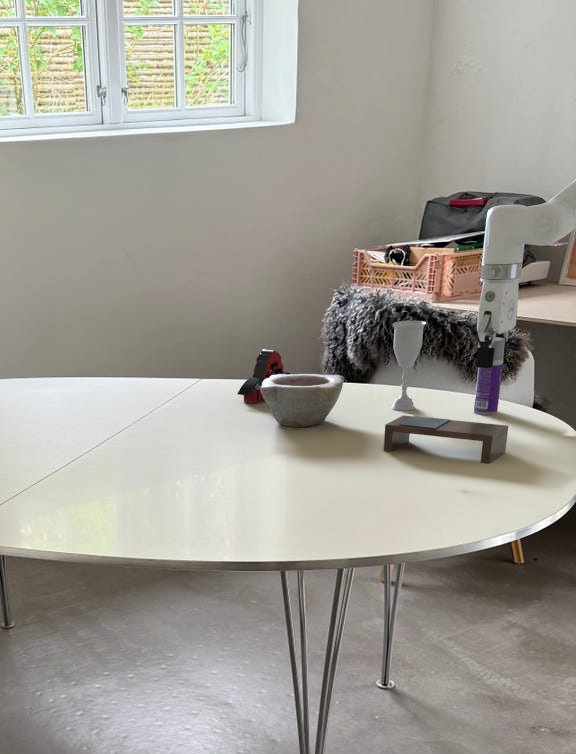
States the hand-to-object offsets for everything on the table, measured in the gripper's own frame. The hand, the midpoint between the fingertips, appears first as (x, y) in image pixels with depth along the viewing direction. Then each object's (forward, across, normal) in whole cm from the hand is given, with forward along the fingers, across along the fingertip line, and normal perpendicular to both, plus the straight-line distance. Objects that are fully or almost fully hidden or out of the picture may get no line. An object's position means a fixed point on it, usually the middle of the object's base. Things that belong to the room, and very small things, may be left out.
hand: (490, 363), depth 197 cm
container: (+10, 0, 0) cm, 10 cm away
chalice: (+10, -3, +17) cm, 20 cm away
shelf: (+10, -32, -4) cm, 34 cm away
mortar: (+10, -23, +31) cm, 40 cm away
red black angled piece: (+10, -5, +50) cm, 51 cm away
